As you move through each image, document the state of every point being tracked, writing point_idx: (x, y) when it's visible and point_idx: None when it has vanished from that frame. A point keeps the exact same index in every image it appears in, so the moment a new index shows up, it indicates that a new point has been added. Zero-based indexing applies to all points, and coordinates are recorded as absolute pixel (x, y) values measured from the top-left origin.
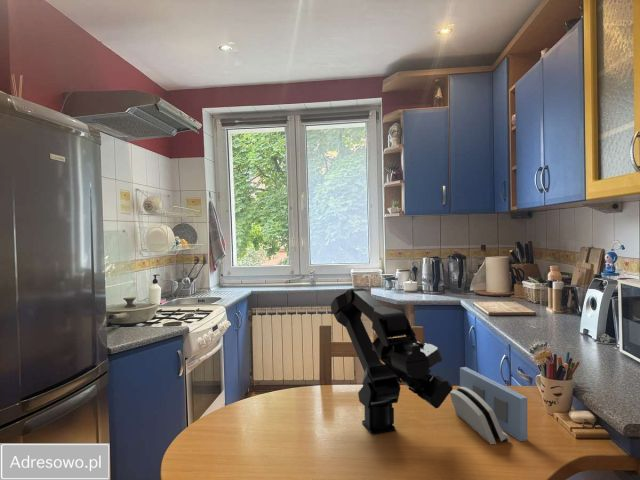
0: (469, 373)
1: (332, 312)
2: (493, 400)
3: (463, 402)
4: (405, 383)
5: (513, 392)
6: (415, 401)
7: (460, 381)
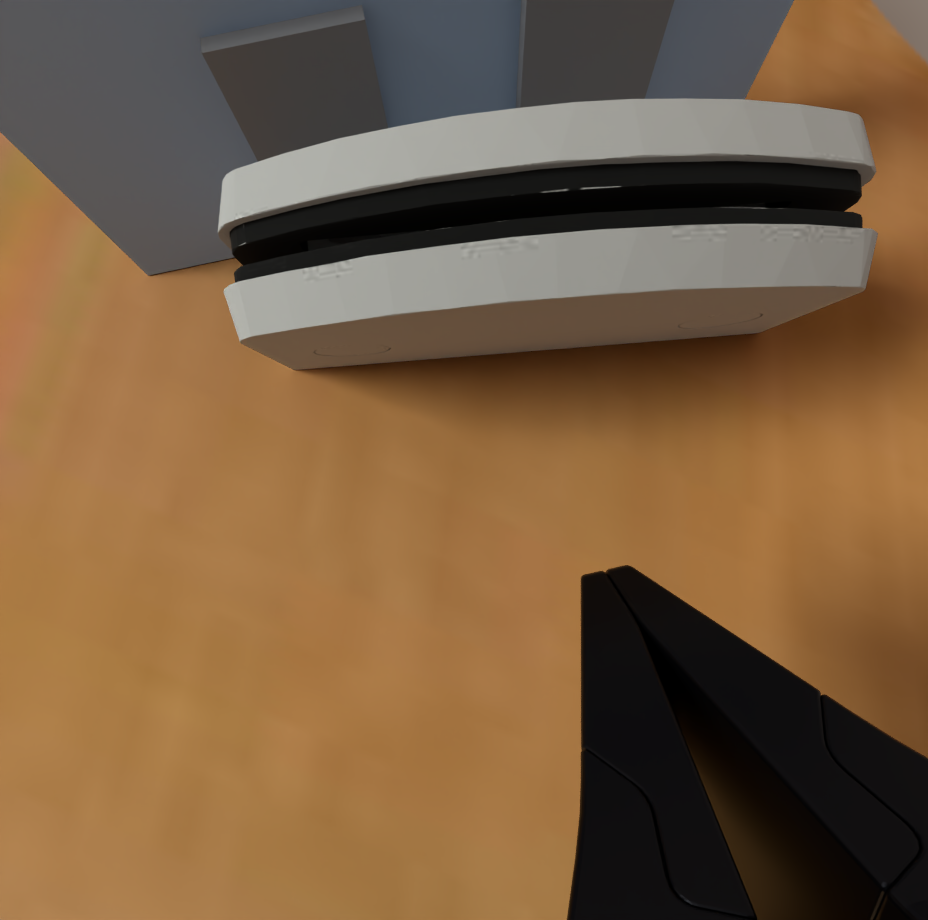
0: None
1: None
2: (495, 39)
3: (565, 307)
4: None
5: None
6: (13, 613)
7: (14, 134)
